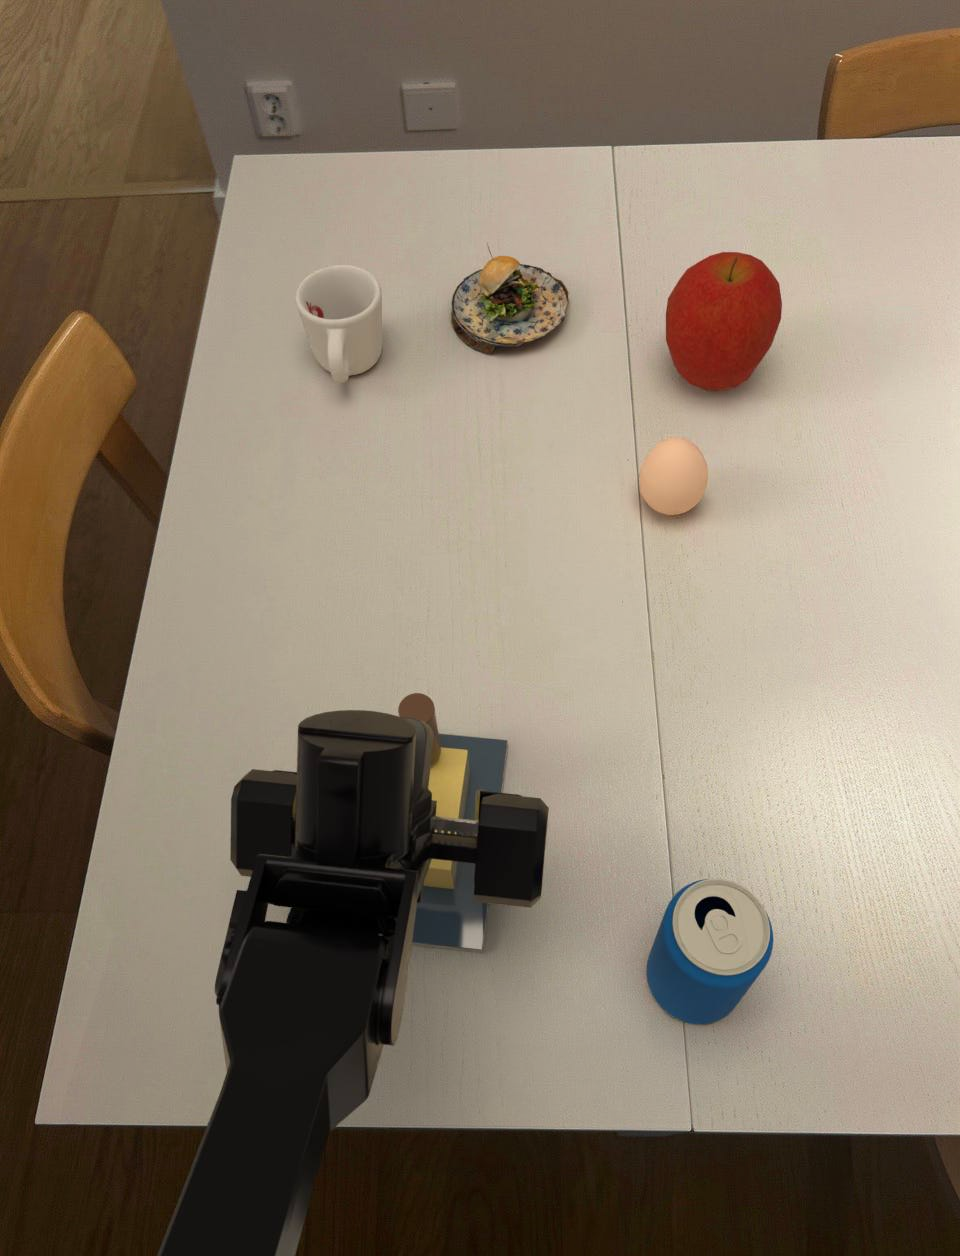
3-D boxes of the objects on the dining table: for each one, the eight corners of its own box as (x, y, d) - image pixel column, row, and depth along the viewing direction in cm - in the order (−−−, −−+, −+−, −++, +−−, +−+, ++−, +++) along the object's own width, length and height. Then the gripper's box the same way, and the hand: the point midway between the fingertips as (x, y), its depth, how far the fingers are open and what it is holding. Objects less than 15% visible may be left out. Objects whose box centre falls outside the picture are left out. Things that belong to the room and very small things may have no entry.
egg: (646, 472, 95) (654, 412, 89) (708, 488, 94) (722, 429, 88) (627, 520, 93) (635, 462, 86) (692, 537, 91) (704, 480, 85)
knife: (442, 792, 78) (431, 726, 69) (410, 789, 79) (395, 723, 69) (450, 735, 81) (441, 664, 72) (419, 732, 81) (406, 661, 72)
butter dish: (482, 953, 73) (480, 933, 69) (326, 935, 74) (315, 914, 70) (507, 744, 82) (506, 715, 78) (367, 731, 83) (359, 701, 79)
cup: (386, 407, 101) (376, 343, 94) (302, 408, 101) (286, 345, 94) (392, 328, 106) (383, 262, 100) (313, 329, 107) (299, 264, 100)
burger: (488, 374, 103) (486, 313, 96) (429, 303, 108) (424, 242, 102) (592, 327, 106) (597, 265, 99) (529, 261, 111) (530, 198, 105)
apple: (740, 329, 105) (767, 207, 93) (783, 400, 100) (817, 280, 88) (641, 352, 104) (656, 231, 92) (679, 425, 98) (700, 307, 87)
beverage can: (714, 916, 74) (744, 856, 64) (759, 1005, 71) (798, 957, 61) (629, 949, 73) (646, 894, 63) (671, 1042, 70) (696, 999, 60)
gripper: (549, 767, 54) (560, 685, 69) (193, 732, 55) (280, 659, 71) (533, 966, 56) (547, 844, 71) (192, 926, 58) (277, 816, 73)
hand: (412, 787), depth 71 cm, fingers open, 9 cm apart
